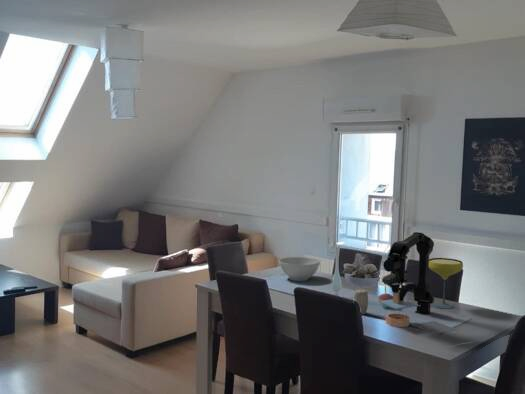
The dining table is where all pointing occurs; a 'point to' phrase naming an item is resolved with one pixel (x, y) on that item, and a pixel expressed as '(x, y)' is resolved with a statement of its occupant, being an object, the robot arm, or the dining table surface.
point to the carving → (362, 299)
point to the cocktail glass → (445, 273)
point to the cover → (398, 302)
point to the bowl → (397, 320)
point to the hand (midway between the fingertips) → (398, 300)
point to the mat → (434, 327)
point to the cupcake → (385, 298)
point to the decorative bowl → (299, 267)
